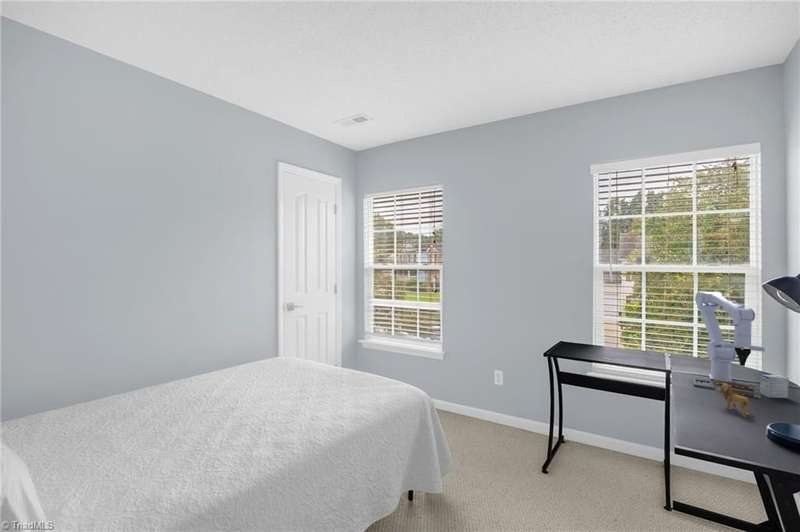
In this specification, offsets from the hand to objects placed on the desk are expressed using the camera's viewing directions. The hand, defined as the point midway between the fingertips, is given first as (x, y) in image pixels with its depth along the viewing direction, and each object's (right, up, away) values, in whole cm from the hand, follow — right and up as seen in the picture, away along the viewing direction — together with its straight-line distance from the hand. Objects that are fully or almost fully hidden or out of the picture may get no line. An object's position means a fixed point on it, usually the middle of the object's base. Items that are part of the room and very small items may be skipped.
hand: (742, 365), depth 174 cm
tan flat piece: (-5, -10, -3) cm, 12 cm away
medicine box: (+5, -11, -10) cm, 15 cm away
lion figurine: (-28, -10, -29) cm, 41 cm away
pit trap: (-15, -10, +4) cm, 18 cm away
